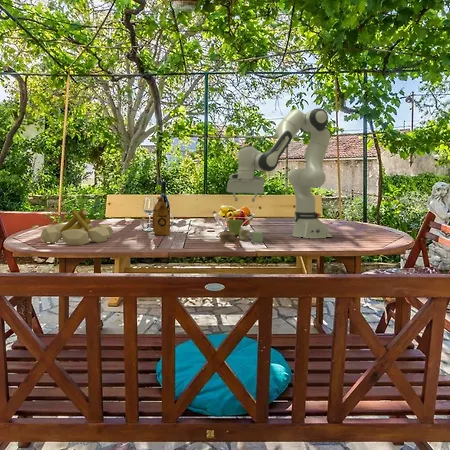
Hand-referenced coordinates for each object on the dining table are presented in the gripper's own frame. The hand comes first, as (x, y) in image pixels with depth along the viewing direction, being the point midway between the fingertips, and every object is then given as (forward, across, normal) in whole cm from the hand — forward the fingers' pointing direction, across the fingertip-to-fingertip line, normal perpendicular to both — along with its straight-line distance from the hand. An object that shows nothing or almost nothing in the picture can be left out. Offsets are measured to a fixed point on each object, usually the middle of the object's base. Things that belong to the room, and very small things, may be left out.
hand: (244, 201), depth 224 cm
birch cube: (+21, -1, 0) cm, 21 cm away
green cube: (+21, -7, +8) cm, 23 cm away
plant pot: (+21, +4, -13) cm, 25 cm away
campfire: (+24, +88, +11) cm, 91 cm away
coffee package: (+22, +48, -13) cm, 54 cm away
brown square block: (+21, +9, +9) cm, 25 cm away
